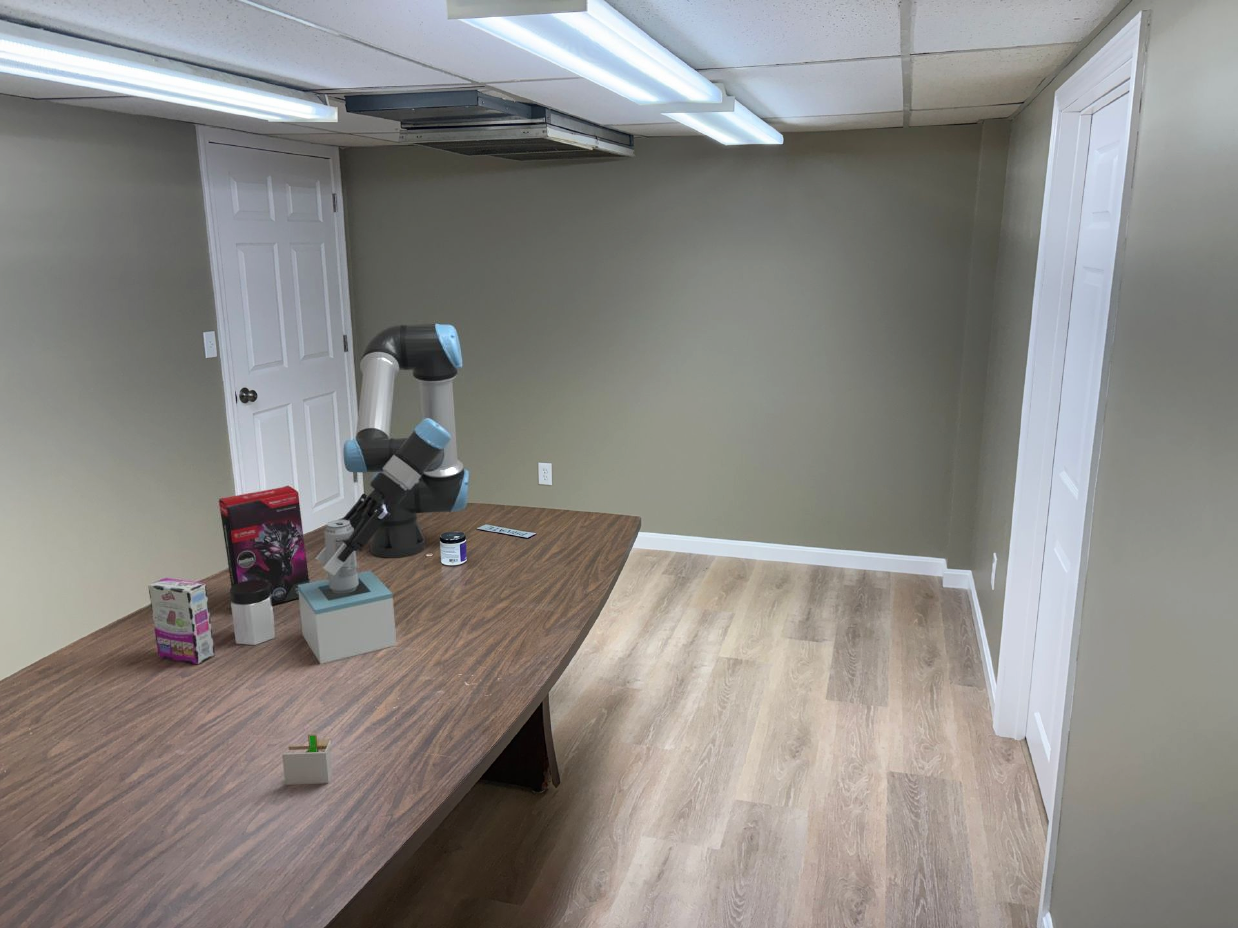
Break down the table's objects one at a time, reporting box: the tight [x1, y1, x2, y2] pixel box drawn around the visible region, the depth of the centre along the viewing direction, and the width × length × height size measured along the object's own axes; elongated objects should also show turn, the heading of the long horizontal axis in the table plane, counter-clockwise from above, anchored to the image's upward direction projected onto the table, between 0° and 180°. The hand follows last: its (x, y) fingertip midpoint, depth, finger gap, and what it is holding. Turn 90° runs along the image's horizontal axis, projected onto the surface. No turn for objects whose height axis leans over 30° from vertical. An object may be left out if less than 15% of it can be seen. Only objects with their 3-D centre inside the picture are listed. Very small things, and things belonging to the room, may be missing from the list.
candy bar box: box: [147, 577, 216, 665], centre depth 182 cm, size 11×5×16 cm, turn 70°
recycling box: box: [298, 570, 397, 665], centre depth 190 cm, size 16×16×12 cm
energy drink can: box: [323, 519, 359, 594], centre depth 186 cm, size 6×6×15 cm
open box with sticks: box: [281, 733, 333, 786], centre depth 141 cm, size 4×7×8 cm, turn 93°
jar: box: [229, 580, 276, 646], centre depth 192 cm, size 9×8×12 cm
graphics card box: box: [218, 485, 310, 606], centre depth 209 cm, size 17×7×27 cm, turn 131°
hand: (324, 566), depth 185 cm, fingers closed on energy drink can, 6 cm apart
